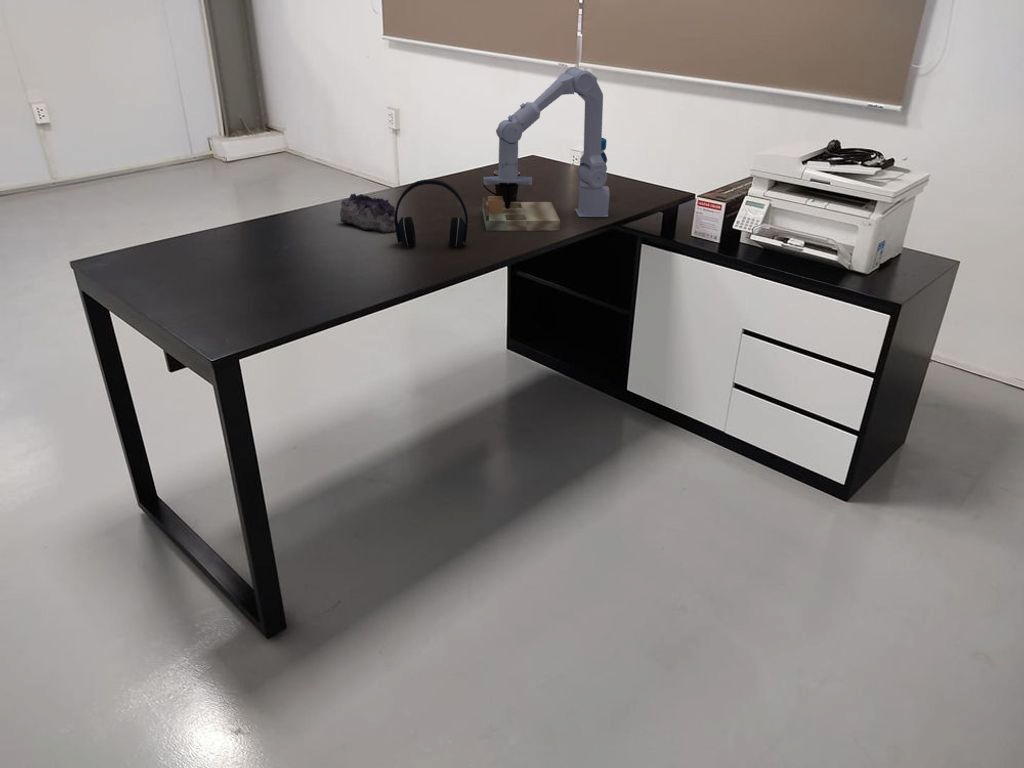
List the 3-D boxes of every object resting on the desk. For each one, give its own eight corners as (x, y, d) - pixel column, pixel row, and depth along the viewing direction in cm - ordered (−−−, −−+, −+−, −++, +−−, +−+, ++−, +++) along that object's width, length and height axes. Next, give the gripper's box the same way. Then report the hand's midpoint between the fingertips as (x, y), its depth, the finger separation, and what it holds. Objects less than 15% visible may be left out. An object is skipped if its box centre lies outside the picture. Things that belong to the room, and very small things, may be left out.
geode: (411, 227, 230) (407, 195, 224) (384, 242, 223) (380, 209, 217) (362, 212, 240) (357, 181, 234) (335, 225, 232) (329, 194, 226)
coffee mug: (520, 200, 259) (521, 170, 254) (518, 207, 251) (518, 176, 246) (486, 198, 259) (486, 168, 255) (482, 205, 252) (482, 174, 247)
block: (502, 209, 238) (502, 196, 236) (503, 213, 234) (503, 200, 232) (487, 209, 238) (487, 196, 236) (488, 213, 234) (488, 200, 232)
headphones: (395, 249, 212) (391, 183, 203) (397, 241, 218) (393, 176, 209) (467, 249, 213) (467, 183, 204) (467, 241, 219) (467, 177, 210)
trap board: (550, 211, 248) (551, 197, 246) (559, 230, 230) (560, 215, 228) (482, 211, 246) (482, 197, 244) (486, 230, 228) (486, 215, 226)
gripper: (530, 159, 233) (529, 204, 240) (483, 159, 232) (482, 204, 239) (533, 165, 227) (531, 210, 234) (484, 165, 226) (484, 210, 232)
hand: (507, 207), depth 236 cm, fingers closed
